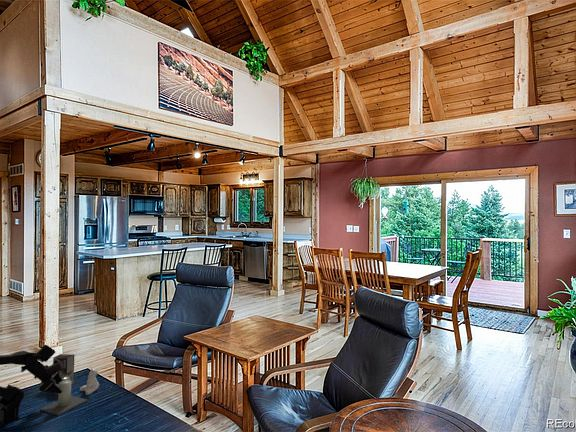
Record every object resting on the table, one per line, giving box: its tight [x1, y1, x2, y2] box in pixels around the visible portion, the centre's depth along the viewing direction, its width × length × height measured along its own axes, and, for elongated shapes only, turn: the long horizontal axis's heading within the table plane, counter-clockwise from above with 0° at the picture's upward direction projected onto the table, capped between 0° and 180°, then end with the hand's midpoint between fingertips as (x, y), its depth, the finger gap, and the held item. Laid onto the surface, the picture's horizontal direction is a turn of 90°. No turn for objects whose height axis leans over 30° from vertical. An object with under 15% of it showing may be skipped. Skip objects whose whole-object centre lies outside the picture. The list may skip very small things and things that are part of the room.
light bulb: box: [57, 380, 72, 407], centre depth 187 cm, size 6×6×11 cm
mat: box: [40, 395, 88, 417], centre depth 187 cm, size 16×13×1 cm
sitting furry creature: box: [79, 368, 100, 396], centre depth 205 cm, size 10×9×12 cm
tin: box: [54, 375, 70, 396], centre depth 202 cm, size 7×7×8 cm
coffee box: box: [52, 353, 75, 384], centre depth 213 cm, size 9×6×16 cm
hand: (63, 388), depth 187 cm, fingers open, 9 cm apart
